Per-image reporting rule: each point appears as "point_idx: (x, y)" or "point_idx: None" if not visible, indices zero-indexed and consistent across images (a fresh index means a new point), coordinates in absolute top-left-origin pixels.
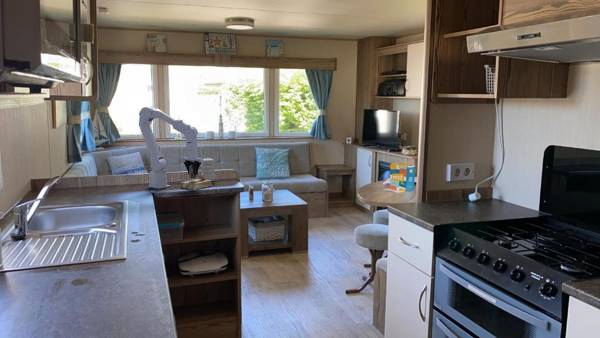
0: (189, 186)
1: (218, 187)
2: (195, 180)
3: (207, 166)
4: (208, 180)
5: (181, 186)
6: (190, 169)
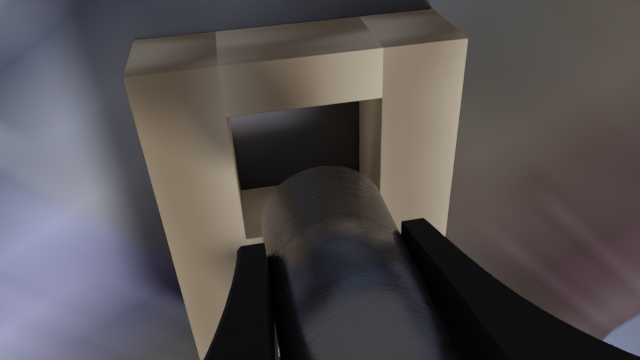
0: (260, 40)
1: (30, 308)
2: None
3: None
4: None
5: (439, 15)
6: (348, 293)
